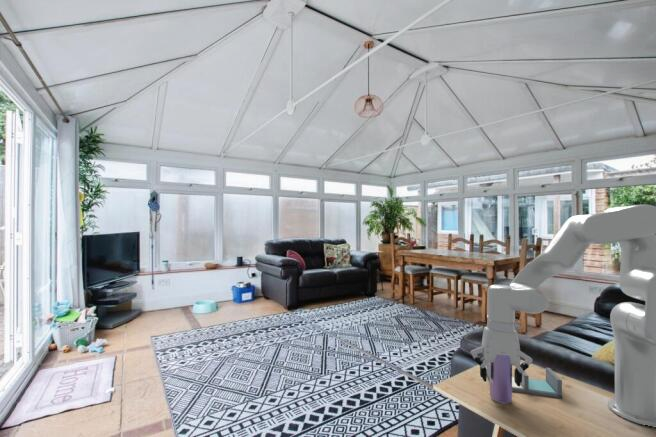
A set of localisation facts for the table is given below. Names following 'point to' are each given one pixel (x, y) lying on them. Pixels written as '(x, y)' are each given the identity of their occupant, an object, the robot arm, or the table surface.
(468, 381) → the table surface
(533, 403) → the table surface
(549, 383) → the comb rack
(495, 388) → the beverage can
